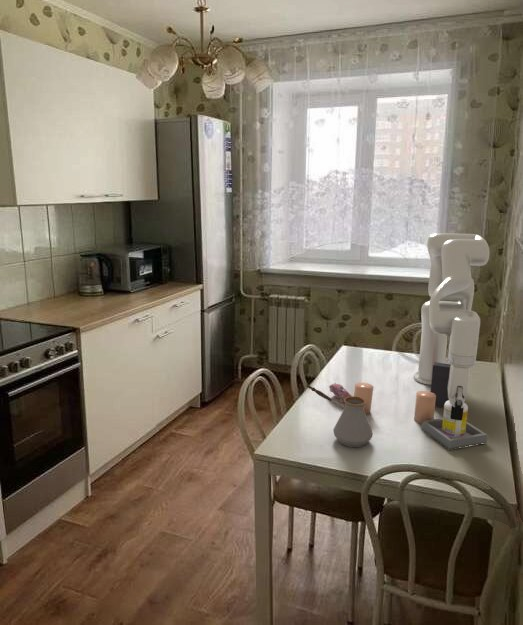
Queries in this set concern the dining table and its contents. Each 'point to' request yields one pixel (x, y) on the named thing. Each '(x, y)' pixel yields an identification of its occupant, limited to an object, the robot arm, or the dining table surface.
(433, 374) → the dark grey rectangular block
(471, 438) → the tray
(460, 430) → the supplement bottle
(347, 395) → the pink purple bumpy rod
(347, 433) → the coffee pot
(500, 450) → the dining table surface
